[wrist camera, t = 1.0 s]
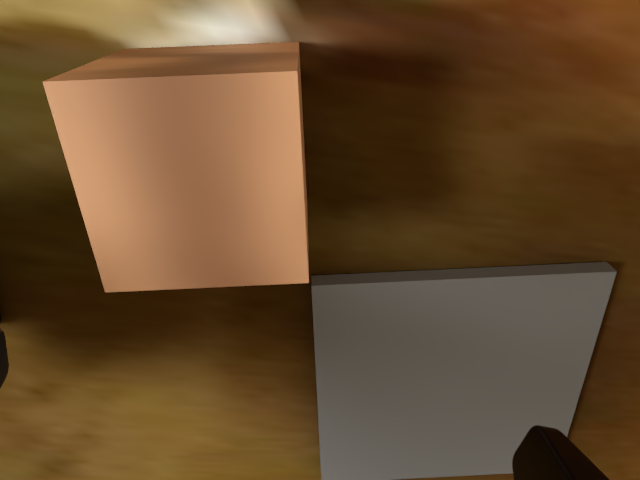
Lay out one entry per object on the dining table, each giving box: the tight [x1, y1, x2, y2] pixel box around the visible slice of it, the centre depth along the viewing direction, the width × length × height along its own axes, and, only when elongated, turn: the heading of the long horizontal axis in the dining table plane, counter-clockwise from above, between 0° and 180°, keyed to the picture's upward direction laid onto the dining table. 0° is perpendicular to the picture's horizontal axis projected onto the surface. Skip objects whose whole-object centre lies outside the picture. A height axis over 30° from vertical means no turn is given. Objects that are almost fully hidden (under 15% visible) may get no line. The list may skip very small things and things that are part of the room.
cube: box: [43, 42, 309, 293], centre depth 16 cm, size 6×6×6 cm
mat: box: [311, 262, 617, 480], centre depth 24 cm, size 13×13×1 cm
